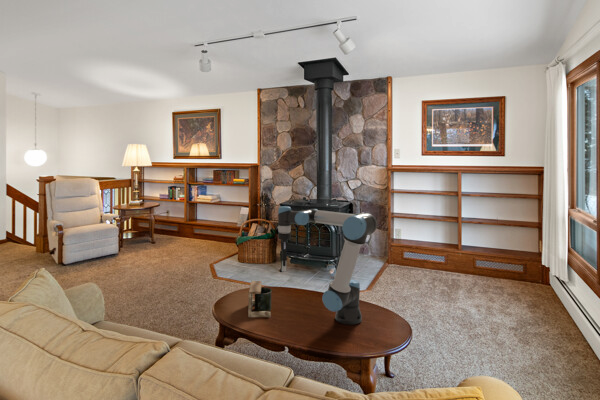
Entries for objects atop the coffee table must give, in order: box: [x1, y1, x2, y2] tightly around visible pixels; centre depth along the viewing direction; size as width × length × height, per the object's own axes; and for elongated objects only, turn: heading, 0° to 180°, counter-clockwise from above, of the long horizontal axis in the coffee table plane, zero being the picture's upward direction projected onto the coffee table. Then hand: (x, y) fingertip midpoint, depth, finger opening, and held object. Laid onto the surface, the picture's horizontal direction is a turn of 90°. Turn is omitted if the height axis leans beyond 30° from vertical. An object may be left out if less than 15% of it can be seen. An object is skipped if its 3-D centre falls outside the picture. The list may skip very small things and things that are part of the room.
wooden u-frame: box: [247, 280, 272, 319], centre depth 216 cm, size 13×21×15 cm, turn 5°
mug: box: [254, 286, 273, 312], centre depth 216 cm, size 11×15×12 cm
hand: (284, 270), depth 216 cm, fingers closed
